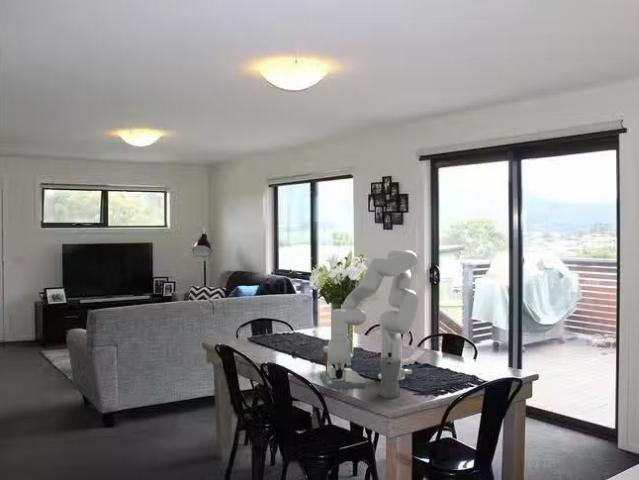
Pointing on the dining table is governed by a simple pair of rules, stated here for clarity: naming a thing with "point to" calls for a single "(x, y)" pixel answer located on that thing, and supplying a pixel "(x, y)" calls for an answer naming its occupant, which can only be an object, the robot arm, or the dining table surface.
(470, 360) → the dining table surface
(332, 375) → the breaker
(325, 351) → the disposable coffee cup
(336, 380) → the grey flat slab
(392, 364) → the coffeepot
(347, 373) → the breaker
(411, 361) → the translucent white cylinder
